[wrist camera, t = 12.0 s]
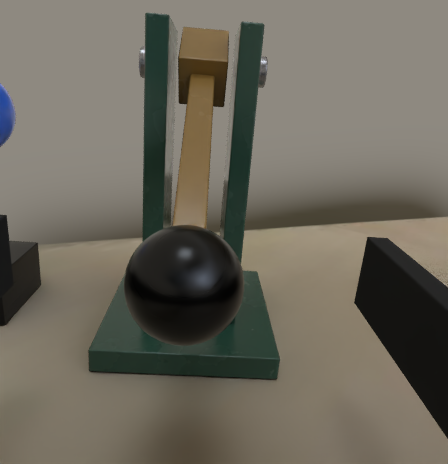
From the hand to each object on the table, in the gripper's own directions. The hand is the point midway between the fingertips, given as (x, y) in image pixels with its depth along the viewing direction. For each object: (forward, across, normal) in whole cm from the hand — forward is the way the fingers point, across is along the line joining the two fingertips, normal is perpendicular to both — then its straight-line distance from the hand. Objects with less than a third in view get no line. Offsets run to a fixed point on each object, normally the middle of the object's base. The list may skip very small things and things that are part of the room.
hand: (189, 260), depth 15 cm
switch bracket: (+7, 0, -7) cm, 10 cm away
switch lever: (+3, 0, +2) cm, 4 cm away
